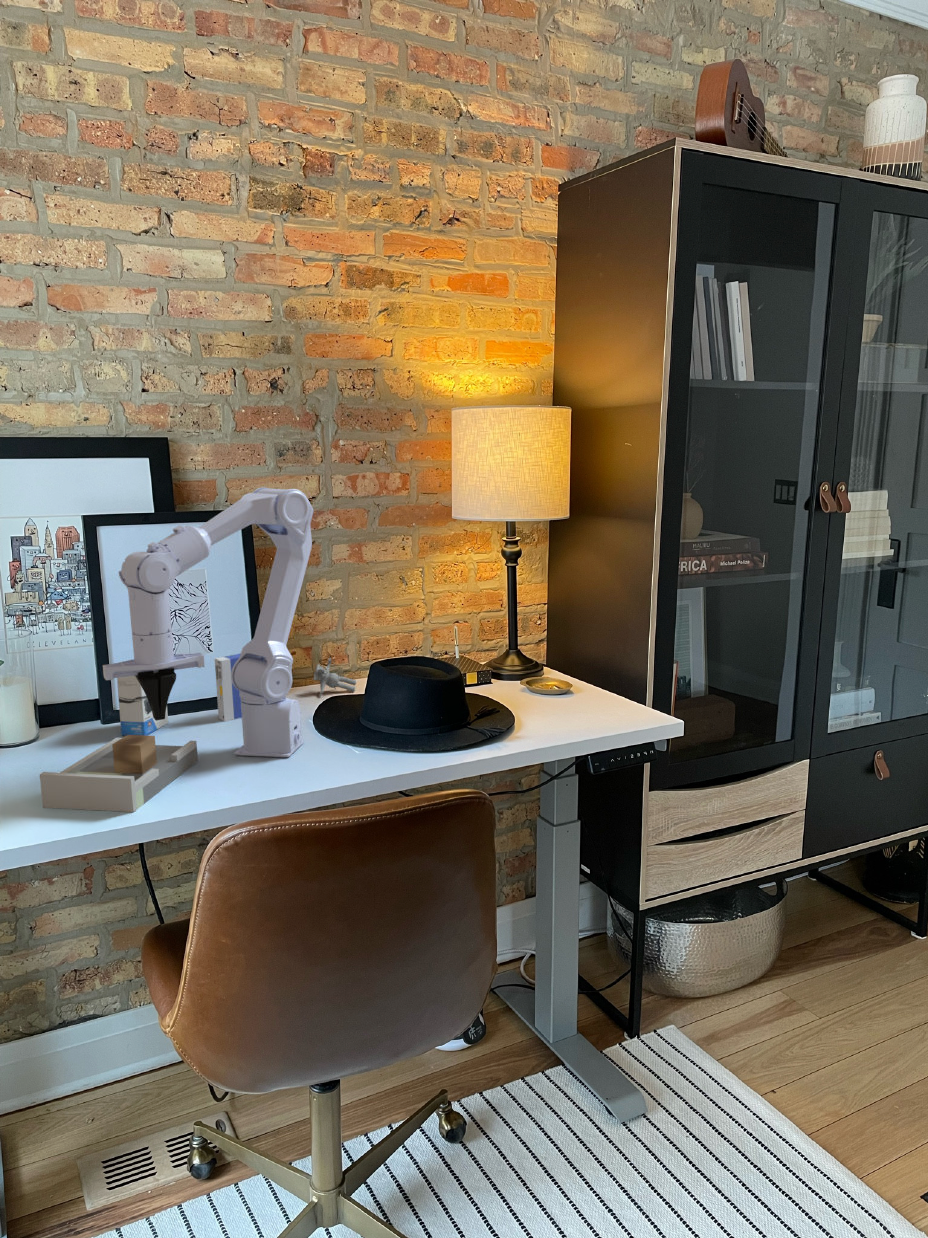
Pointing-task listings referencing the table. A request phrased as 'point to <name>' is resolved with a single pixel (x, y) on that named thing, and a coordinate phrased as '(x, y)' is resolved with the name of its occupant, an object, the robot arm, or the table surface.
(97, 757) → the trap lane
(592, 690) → the table surface
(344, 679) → the grey toy figure
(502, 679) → the table surface
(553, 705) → the table surface
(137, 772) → the walnut block
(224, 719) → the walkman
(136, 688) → the ink box
